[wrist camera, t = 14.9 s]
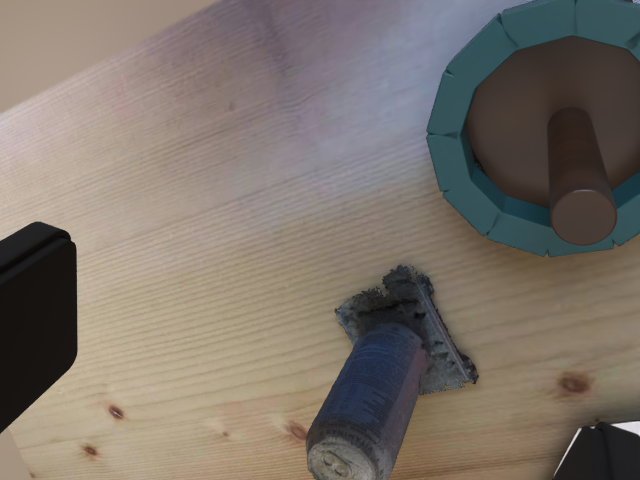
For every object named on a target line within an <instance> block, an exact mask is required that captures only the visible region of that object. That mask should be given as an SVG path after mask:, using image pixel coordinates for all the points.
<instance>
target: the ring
mask: <svg viewBox="0 0 640 480" xmlns="http://www.w3.org/2000/svg"><path fill="white" fill-rule="evenodd" d="M569 36H575V37H579V38H583V39H587V40H591V41H595V42H599V43H603V44H607V45H611V46H615V47H619V48H623V49H627V50H628V51H629V52H630V53H631V54H632V55H633V56H634V57H635V58H636V59H637V61H638V62H639V63H640V4H637V3H633V2H628V1H624V0H535V1H532V2H529V3H525V4H522V5H519V6H515V7H512V8H509V9H505V10H503V12H502V14H500V13H498V14H497V15H496V16H495V17H494V18H493V19H492V20H491V21H490V22H489V23H488V24H487V25H486V26H485V27H484V28H483V29H482V30H481V31H480V32H479V33H478V34H477V35H476V36H475V37H474V38H473V39H472V40H471V41H470V42H469V43H468V44H467V45H466V46H465V47H464V48H463V49H462V50H461V51H460V52H459V53H458V54H457V55H456V56H455V57H454V58H453V59H452V60H451V62H450V63H449V64H448V66H447V67H446V70H445V71H444V73H443V75H442V78H441V82H440V85H439V88H438V92H437V95H436V99H435V102H434V106H433V109H432V113H431V116H430V119H429V123H428V126H427V130H426V131H427V132H428V135H427V137H426V139H427V143H428V147H429V150H430V154H431V158H432V162H433V166H434V170H435V174H436V177H437V181H438V185H439V189H440V191H444V193H443V197H444V198H445V199H446V200H447V201H448V202H449V203H450V204H451V205H452V206H453V207H454V208H455V209H456V210H457V211H458V212H459V213H460V214H461V215H462V216H463V217H464V218H465V219H466V220H467V221H468V222H469V223H470V224H471V225H472V226H473V227H474V228H475V229H476V230H477V231H478V232H479V233H480V234H481V235H482V236H484V235H485V234H487V239H489V240H492V241H495V242H498V243H502V244H505V245H508V246H511V247H514V248H517V249H521V250H524V251H527V252H530V253H533V254H536V255H539V256H543V257H544V256H545V255H546V253H547V250H548V255H549V257H556V256H563V255H571V254H578V253H585V252H593V251H600V250H607V249H613V248H614V244H613V241H614V242H615V243H616V244H617V245H618V246H621V245H622V244H624V243H625V242H627V241H628V240H630V239H631V238H633V237H634V236H636V235H637V234H639V233H640V170H639V172H638V173H636V174H635V175H633V176H632V177H631V178H629V179H628V180H626V181H625V182H624V183H622V184H621V185H619V186H618V187H617V188H615V189H614V190H612V195H613V198H614V202H615V205H616V209H617V215H618V216H617V223H616V226H615V228H614V229H613V231H612V232H611V234H610V235H609V236H608V237H606V238H605V239H603V240H602V241H600V242H598V243H595V244H592V245H585V246H579V245H574V244H570V243H567V242H565V241H564V240H562V239H561V238H560V237H558V236H557V235H556V233H555V232H554V230H553V228H552V226H551V222H550V209H549V208H546V207H542V206H539V205H536V204H532V203H529V202H526V201H522V200H519V199H516V198H512V197H509V196H506V195H505V194H504V193H503V192H502V191H501V190H500V189H499V188H498V187H497V186H496V185H495V184H494V183H493V182H492V181H491V180H490V179H489V178H488V177H487V176H486V175H485V174H484V173H483V172H482V171H481V170H480V169H479V168H478V167H477V166H476V165H475V161H474V156H473V152H472V148H471V143H470V139H469V135H468V131H467V126H466V120H467V117H468V114H469V111H470V108H471V105H472V102H473V99H474V95H475V92H476V89H477V87H478V86H479V85H480V84H481V83H482V82H483V81H484V80H485V79H486V78H487V77H488V76H489V75H490V74H492V73H493V72H494V71H495V70H496V69H497V68H498V67H499V66H500V65H501V64H502V63H503V62H504V61H505V60H507V59H508V58H509V57H510V56H511V55H512V54H513V53H514V52H515V51H518V50H521V49H525V48H529V47H532V46H536V45H540V44H543V43H547V42H551V41H554V40H558V39H562V38H565V37H569Z"/></svg>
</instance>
